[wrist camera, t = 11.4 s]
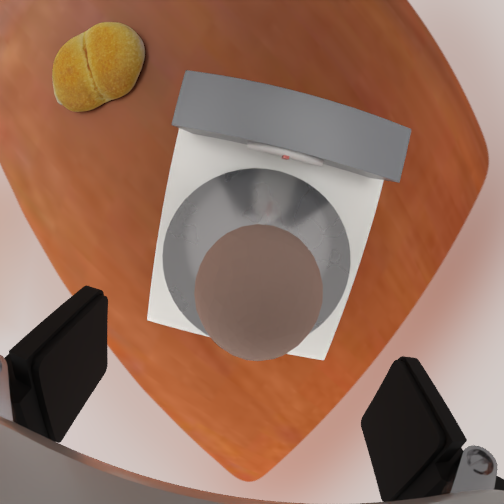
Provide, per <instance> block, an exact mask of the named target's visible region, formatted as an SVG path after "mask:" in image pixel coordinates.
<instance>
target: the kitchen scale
mask: <svg viewBox="0 0 504 504" xmlns="http://www.w3.org/2000/svg"><path fill="white" fill-rule="evenodd" d="M172 125H173V126H176V127H178V128H179V131H178V136H177V140H176V145H175V149H174V154H173V158H172V163H171V168H170V173H169V178H168V183H167V188H166V193H165V198H164V204H163V209H162V215H161V221H160V227H159V233H158V239H157V246H156V252H155V259H154V266H153V274H152V282H151V290H150V298H149V307H148V316H147V320H148V321H152V322H155V323H159V324H162V325H166V326H170V327H173V328H177V329H181V330H184V331H188V332H192V333H196V334H200V335H204V336H208V335H206V334H205V333H203V332H202V331H200V330H199V329H198V328H196V327H195V326H194V325H193V324H192V323H191V322H190V321H189V320H188V319H187V318H186V317H185V316H184V315H183V314H182V312H181V311H180V310H179V308H178V307H177V305H176V304H175V302H174V301H173V298H172V296H171V294H170V292H169V290H168V287H167V284H166V281H165V276H164V271H163V258H162V255H163V244H164V240H165V236H166V232H167V229H168V227H169V224H170V221H171V220H172V218H173V216H174V214H175V212H176V211H177V209H178V208H179V207H180V205H181V204H182V203H183V201H184V200H185V199H186V198H187V197H188V196H189V195H190V194H191V193H192V192H193V191H194V190H196V189H197V188H198V187H200V186H201V185H202V184H204V183H206V182H207V181H209V180H211V179H213V178H215V177H217V176H220V175H222V174H225V173H228V172H232V171H236V170H241V169H251V168H259V169H270V170H276V171H280V172H284V173H287V174H290V175H293V176H295V177H297V178H299V179H301V180H303V181H305V182H306V183H308V184H309V185H311V186H312V187H314V188H315V189H316V190H318V191H319V192H320V193H321V194H322V195H323V196H324V197H325V198H326V199H327V200H328V201H329V202H330V204H331V205H332V206H333V207H334V209H335V210H336V212H337V213H338V215H339V217H340V219H341V221H342V223H343V225H344V227H345V230H346V233H347V237H348V240H349V246H350V260H351V265H350V273H349V278H348V282H347V286H346V289H345V291H344V293H343V296H342V298H341V300H340V302H339V303H338V305H337V307H336V308H335V310H334V311H333V312H332V314H331V315H330V316H329V317H328V318H327V319H326V320H325V321H324V322H323V323H322V324H321V325H320V326H319V327H318V328H316V329H315V330H314V331H313V332H311V333H310V334H308V335H307V336H306V338H305V339H304V340H303V341H302V342H301V343H300V344H299V345H298V346H297V347H295V348H294V349H292V350H291V351H289V352H288V353H286V354H291V355H296V356H301V357H307V358H313V359H318V360H324V359H325V357H326V354H327V352H328V349H329V347H330V344H331V342H332V339H333V337H334V334H335V332H336V329H337V326H338V324H339V321H340V318H341V316H342V313H343V310H344V308H345V305H346V302H347V299H348V296H349V294H350V291H351V288H352V285H353V282H354V279H355V276H356V273H357V270H358V267H359V264H360V261H361V258H362V255H363V251H364V248H365V245H366V242H367V239H368V235H369V232H370V229H371V225H372V222H373V218H374V215H375V211H376V208H377V204H378V200H379V197H380V193H381V189H382V185H383V181H384V180H386V181H393V182H400V178H401V174H402V170H403V165H404V161H405V157H406V152H407V148H408V143H409V138H410V134H411V129H409V128H407V127H405V126H402V125H399V124H397V123H394V122H392V121H389V120H386V119H384V118H381V117H378V116H376V115H373V114H370V113H367V112H364V111H361V110H358V109H355V108H352V107H349V106H346V105H343V104H340V103H337V102H333V101H330V100H327V99H323V98H320V97H316V96H313V95H309V94H305V93H301V92H298V91H294V90H290V89H286V88H281V87H277V86H273V85H268V84H264V83H259V82H254V81H249V80H244V79H239V78H233V77H228V76H222V75H216V74H209V73H202V72H195V71H187V70H186V71H185V75H184V79H183V82H182V86H181V90H180V93H179V97H178V101H177V105H176V109H175V113H174V117H173V121H172ZM208 337H210V336H208Z"/></svg>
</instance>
